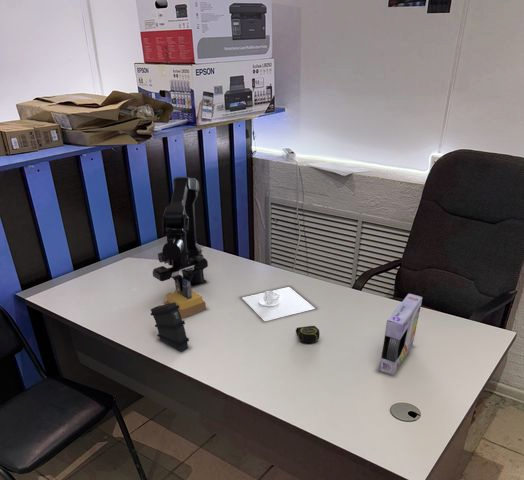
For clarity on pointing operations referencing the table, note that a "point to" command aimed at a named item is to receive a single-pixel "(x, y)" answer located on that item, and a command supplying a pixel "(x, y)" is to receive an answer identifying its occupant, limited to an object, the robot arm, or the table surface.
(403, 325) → the cake pan box
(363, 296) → the table surface
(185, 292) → the mini dv tape
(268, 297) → the white piece
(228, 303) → the table surface
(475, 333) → the table surface
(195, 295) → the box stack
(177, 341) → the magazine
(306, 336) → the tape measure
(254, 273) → the table surface
